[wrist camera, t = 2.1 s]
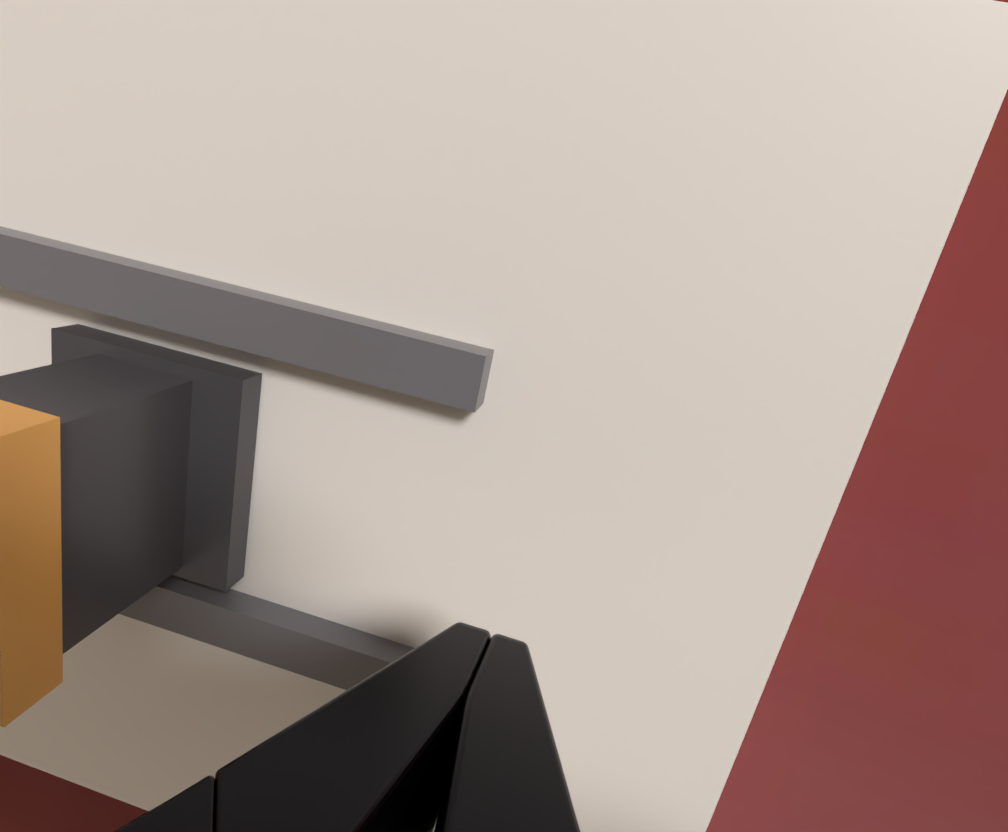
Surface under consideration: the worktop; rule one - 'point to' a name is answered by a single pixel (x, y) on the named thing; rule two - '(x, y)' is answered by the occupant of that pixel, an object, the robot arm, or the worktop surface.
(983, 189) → the worktop surface
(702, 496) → the breaker box
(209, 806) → the robot arm
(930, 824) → the worktop surface
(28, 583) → the breaker toggle
